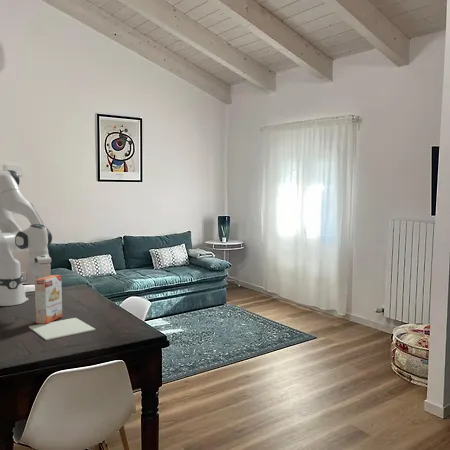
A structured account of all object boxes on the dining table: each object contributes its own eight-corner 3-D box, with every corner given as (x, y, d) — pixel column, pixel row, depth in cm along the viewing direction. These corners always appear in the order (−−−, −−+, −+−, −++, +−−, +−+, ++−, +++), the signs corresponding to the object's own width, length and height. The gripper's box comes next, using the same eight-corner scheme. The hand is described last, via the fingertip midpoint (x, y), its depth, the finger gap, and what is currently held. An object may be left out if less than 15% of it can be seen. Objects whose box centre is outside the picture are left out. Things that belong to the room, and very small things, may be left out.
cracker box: (47, 324, 216) (45, 279, 215) (35, 324, 217) (33, 279, 216) (63, 316, 230) (61, 274, 229) (52, 316, 231) (50, 274, 230)
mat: (28, 327, 213) (28, 326, 213) (75, 318, 228) (75, 317, 227) (46, 340, 197) (46, 339, 197) (95, 330, 211) (95, 328, 211)
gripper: (25, 255, 237) (26, 282, 238) (39, 260, 221) (40, 289, 222) (38, 254, 241) (39, 280, 242) (52, 259, 225) (53, 287, 226)
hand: (39, 284), depth 232 cm, fingers closed
